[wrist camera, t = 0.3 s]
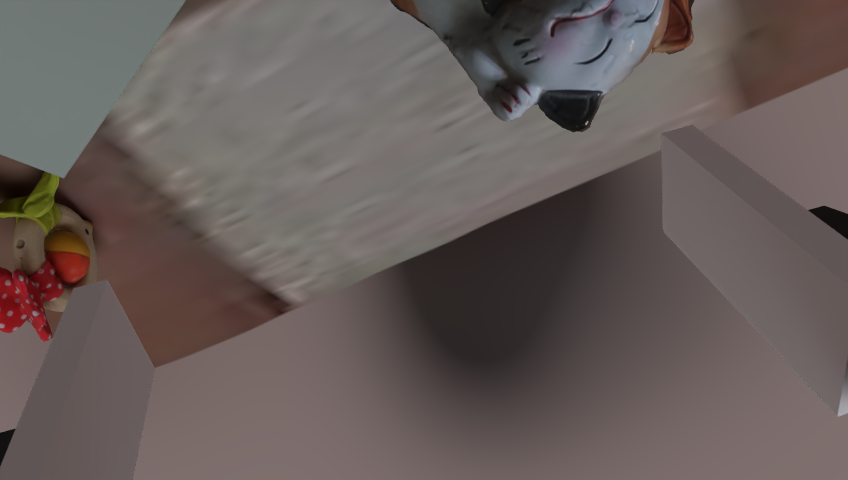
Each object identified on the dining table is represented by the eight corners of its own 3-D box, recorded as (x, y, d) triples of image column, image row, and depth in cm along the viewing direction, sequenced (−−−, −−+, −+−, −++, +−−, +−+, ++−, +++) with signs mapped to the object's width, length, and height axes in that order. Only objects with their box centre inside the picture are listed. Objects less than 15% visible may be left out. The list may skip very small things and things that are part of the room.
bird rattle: (122, 184, 51) (31, 138, 43) (152, 331, 48) (60, 312, 40) (46, 214, 52) (-58, 175, 44) (70, 361, 49) (-37, 349, 40)
